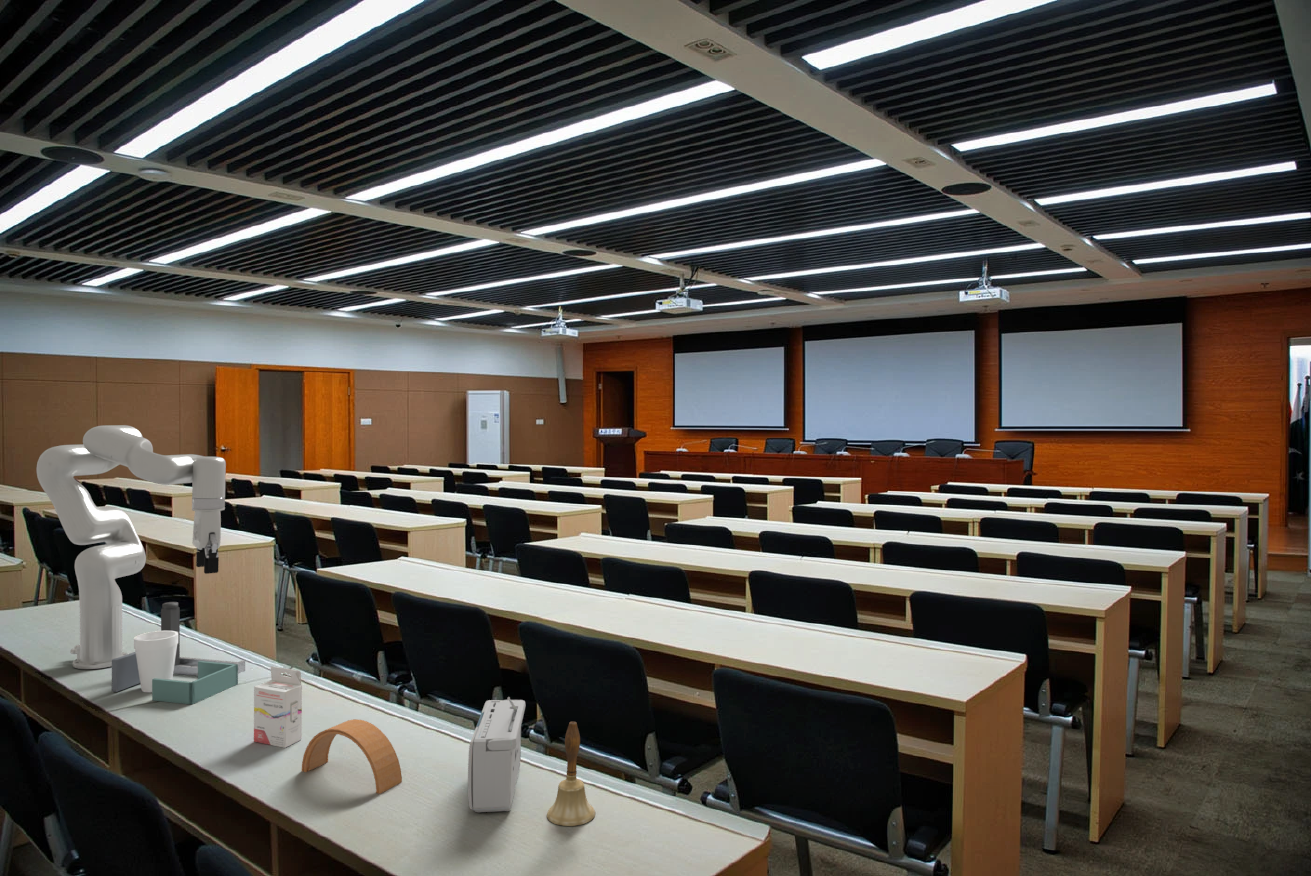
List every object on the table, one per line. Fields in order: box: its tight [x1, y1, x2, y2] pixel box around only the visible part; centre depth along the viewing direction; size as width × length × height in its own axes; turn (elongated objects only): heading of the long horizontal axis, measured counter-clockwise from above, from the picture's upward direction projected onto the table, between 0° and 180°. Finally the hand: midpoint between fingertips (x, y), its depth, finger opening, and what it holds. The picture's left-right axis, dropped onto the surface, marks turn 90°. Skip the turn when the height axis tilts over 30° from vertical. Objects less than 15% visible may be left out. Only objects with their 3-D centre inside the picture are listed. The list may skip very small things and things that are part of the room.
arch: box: [301, 719, 403, 795], centre depth 155 cm, size 6×20×10 cm, turn 63°
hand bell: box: [546, 721, 596, 827], centre depth 142 cm, size 8×8×16 cm
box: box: [151, 661, 239, 705], centre depth 200 cm, size 11×15×5 cm
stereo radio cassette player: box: [467, 696, 526, 814], centre depth 151 cm, size 21×8×20 cm, turn 4°
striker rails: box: [173, 656, 246, 677], centre depth 217 cm, size 28×7×2 cm, turn 77°
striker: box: [111, 601, 181, 692], centre depth 210 cm, size 5×21×17 cm, turn 167°
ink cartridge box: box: [253, 666, 303, 749], centre depth 171 cm, size 9×5×15 cm, turn 71°
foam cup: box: [133, 630, 178, 693], centre depth 203 cm, size 10×9×13 cm
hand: (207, 569), depth 215 cm, fingers open, 9 cm apart
